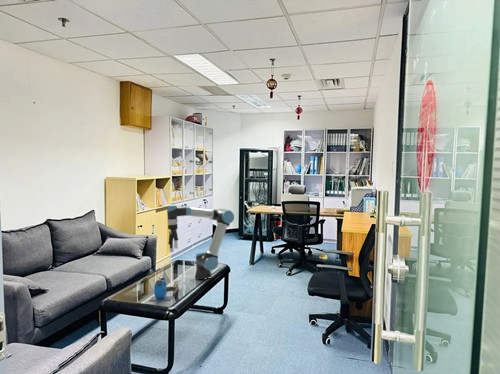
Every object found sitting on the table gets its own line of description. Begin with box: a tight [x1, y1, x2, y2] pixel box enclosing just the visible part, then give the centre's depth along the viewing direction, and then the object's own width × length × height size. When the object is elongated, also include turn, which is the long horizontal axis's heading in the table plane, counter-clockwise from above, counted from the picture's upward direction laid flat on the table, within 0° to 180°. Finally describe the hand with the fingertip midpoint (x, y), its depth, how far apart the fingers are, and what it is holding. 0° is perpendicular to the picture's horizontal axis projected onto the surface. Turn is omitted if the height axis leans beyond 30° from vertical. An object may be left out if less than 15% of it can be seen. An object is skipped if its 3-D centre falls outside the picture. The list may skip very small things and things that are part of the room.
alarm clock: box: [153, 276, 168, 299], centre depth 250 cm, size 13×6×15 cm, turn 179°
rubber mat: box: [148, 295, 174, 302], centre depth 250 cm, size 16×8×1 cm, turn 88°
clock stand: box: [167, 286, 180, 297], centre depth 262 cm, size 10×15×2 cm, turn 178°
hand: (173, 250), depth 271 cm, fingers open, 13 cm apart
